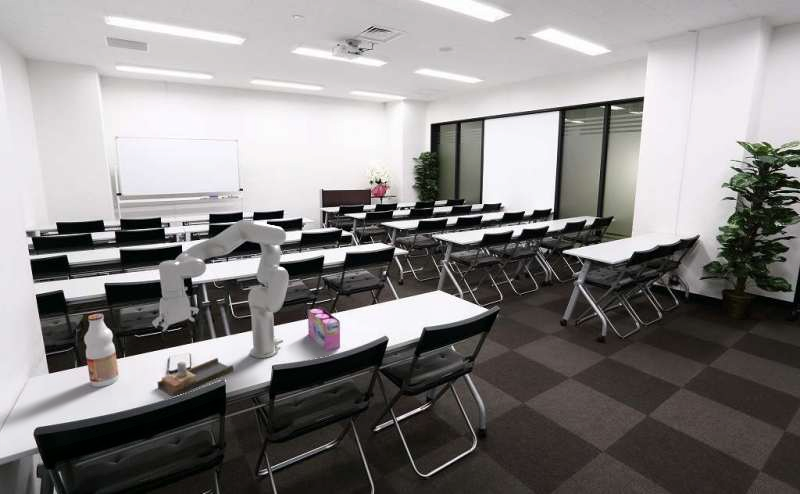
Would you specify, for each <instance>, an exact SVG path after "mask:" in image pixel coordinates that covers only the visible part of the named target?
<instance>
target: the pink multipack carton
mask: <svg viewBox="0 0 800 494" xmlns="http://www.w3.org/2000/svg"><path fill="white" fill-rule="evenodd" d="M307 322H308V323H307V324H308V325H307V327H308V328H307V330H308V336H310V337H311V338H312V339H313V340H314V341H315V342H316V343H317V344H318V345H319V346H320V347H321V348H322V349H323V350H324V351H325V352H326V351H329V350H334V349H339V348H341V321H340V320H339V319H338V318H336V317H335V315H332V314H331V313H329V312H328V311H327V310H326V309H325V308H324V307H321V306H318V308H313V309H310V308H309V309H307Z"/></svg>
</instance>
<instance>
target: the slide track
mask: <svg viewBox="0 0 800 494" xmlns="http://www.w3.org/2000/svg"><path fill="white" fill-rule="evenodd" d="M187 371H189V372H190V373H192V374H194V375H196V381H194V382H192V383H190V384H187V385H185V386H183V387H182V383H180V382H179V381H177V380H175V379H174V378H172V377H170V375H166V376H163V377H161V380H159V381H157V389H159V390H161V391H162V392H164V393H165V394H167V395H169V396H170V397H172V398H173V397H174V396H177V395H180V394H182V395H184V394H186V393H188V392H191V391H192V390H195V389H197V388H199V387H202V386H204V385H206V384H208V383H210V382H213V381H215V380H217V379H219V378H221V376H222V377H224V376H226V375H228V374H231V373H232V372H234V366H233V365H229V366H228V365H225V364H224V363H222V362H220V361H219V358H218V357H216V358H213V359H211V360H208V361H205V362H203V363H201V364H198V365H195V366H194V367H191V369H188V370H187ZM216 378H217V379H216ZM214 379H215V380H214ZM183 393H184V394H183ZM180 396H181V395H180ZM177 397H178V396H177Z"/></svg>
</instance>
